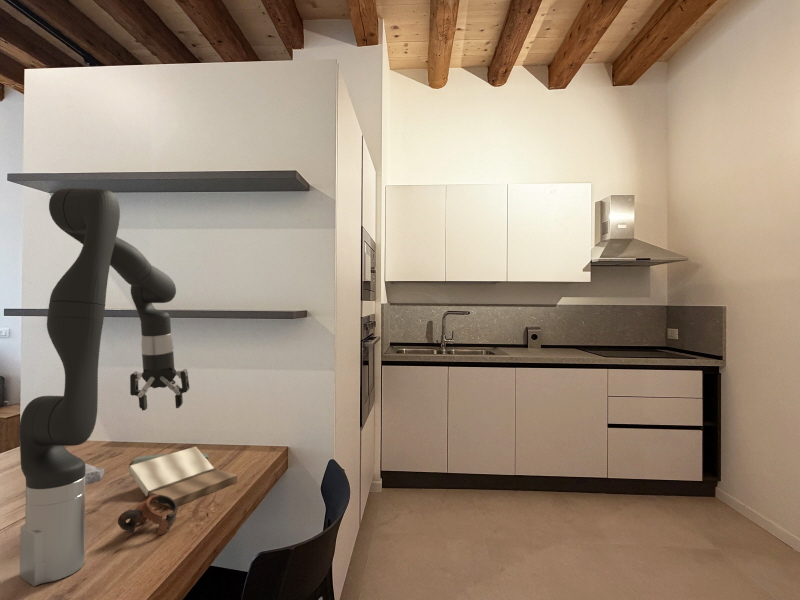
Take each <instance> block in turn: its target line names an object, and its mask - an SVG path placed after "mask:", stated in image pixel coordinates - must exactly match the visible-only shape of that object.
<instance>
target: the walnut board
mask: <svg viewBox="0 0 800 600" xmlns="http://www.w3.org/2000/svg"><path fill="white" fill-rule="evenodd" d="M236 483H238V475H237V474H234V473H231V472H228V471H224V470H221V469H217V468H215V467H214V469H211V470H208V471H206V472H203V473H200V474H197V475H194V476H191V477H188V478H186V479H183V480H180V481H177V482H174V483H171V484H169V485H166V486H163V487H160V488H157V489H154V490H151V491H149V496H148V498H149V497H151V496H153V495H164V496H168V497H170V498H171V499H173V500H174V501H175V502H176V504H177V506H178V507H179V506H181V505H183V504H187V503H189V502H191V501H194V500H196V499H199V498H202V497H204V496H206V494H207V495H208V494H211V492H212V493H214V492H216V491H219V490H222V489H224V488H226V487H229V486H232V485H234V484H236ZM201 496H202V497H201ZM154 502H155V503H157V504H158V501H157V500H155V501H154ZM162 505H163V506H166V507H168V508H170V506H169V504H162Z"/></svg>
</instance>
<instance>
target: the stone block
mask: <svg viewBox="0 0 800 600" xmlns="http://www.w3.org/2000/svg"><path fill="white" fill-rule="evenodd" d="M104 475H105V469H104V467H103V468H102V467H96V466H94V465H92V464H88V463H85V486H87V485H90V484H93V483H97V482H100V481H101V480H102V478H103V477H104Z"/></svg>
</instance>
